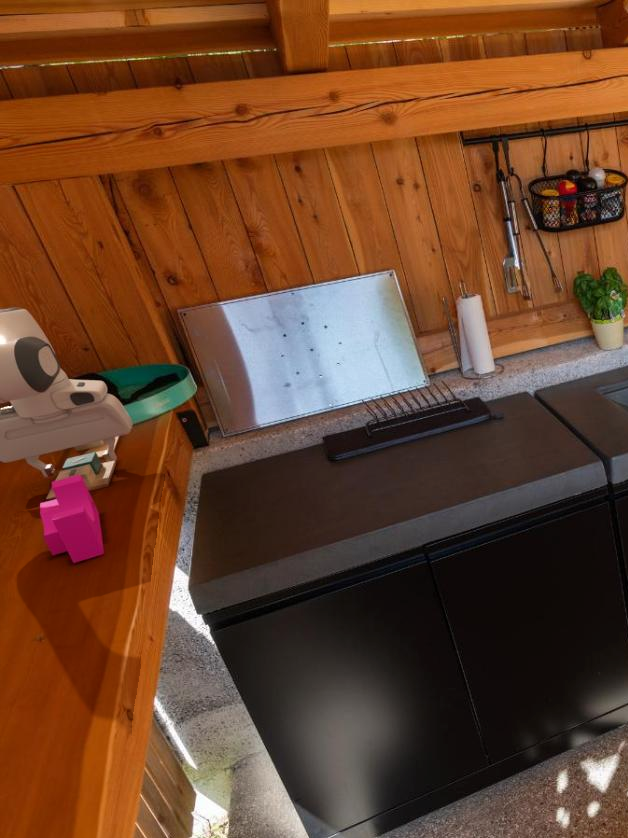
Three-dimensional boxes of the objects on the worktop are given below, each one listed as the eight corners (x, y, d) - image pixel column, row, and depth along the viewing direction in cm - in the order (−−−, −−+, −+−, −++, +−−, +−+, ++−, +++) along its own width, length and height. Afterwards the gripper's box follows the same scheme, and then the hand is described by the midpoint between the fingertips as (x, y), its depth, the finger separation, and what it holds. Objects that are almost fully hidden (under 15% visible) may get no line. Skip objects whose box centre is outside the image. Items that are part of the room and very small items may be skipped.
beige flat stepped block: (57, 469, 144) (49, 454, 142) (68, 448, 152) (61, 434, 151) (113, 456, 147) (106, 441, 145) (121, 436, 156) (114, 422, 154)
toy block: (52, 527, 122) (31, 486, 119) (99, 514, 126) (80, 474, 122) (52, 569, 112) (30, 526, 108) (104, 553, 115) (83, 511, 111)
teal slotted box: (68, 480, 137) (61, 467, 136) (73, 470, 141) (66, 458, 140) (97, 473, 139) (91, 460, 138) (101, 463, 143) (95, 451, 141)
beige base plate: (47, 501, 132) (38, 486, 131) (60, 476, 141) (51, 461, 139) (108, 486, 135) (99, 470, 134) (116, 462, 144) (109, 447, 143)
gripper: (-35, 420, 127) (8, 492, 133) (109, 389, 134) (143, 458, 141) (-24, 408, 132) (17, 477, 138) (114, 379, 139) (146, 446, 146)
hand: (81, 467), depth 140 cm, fingers open, 8 cm apart
